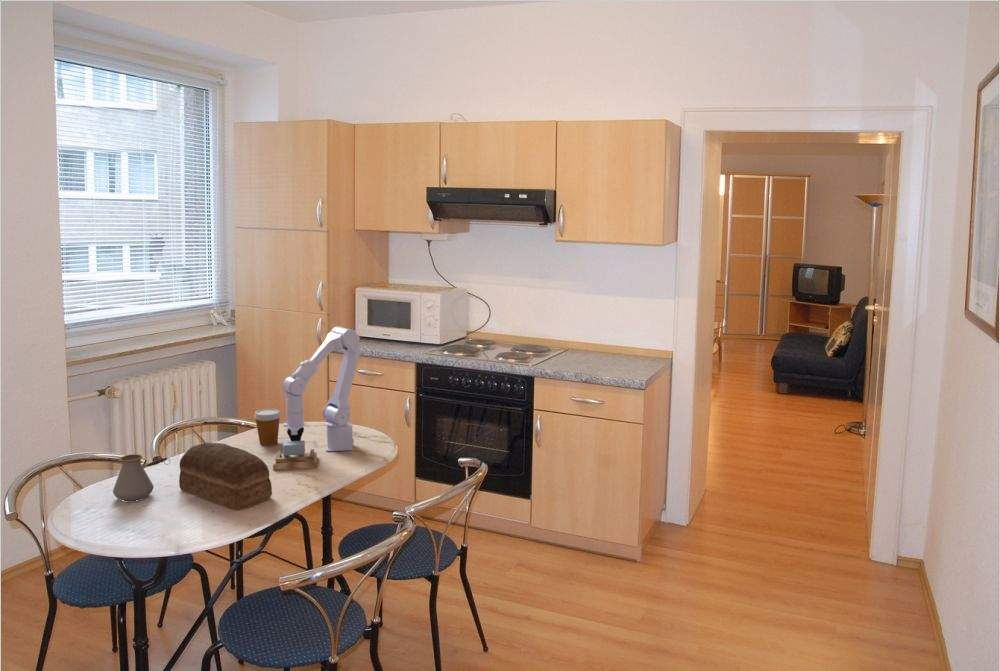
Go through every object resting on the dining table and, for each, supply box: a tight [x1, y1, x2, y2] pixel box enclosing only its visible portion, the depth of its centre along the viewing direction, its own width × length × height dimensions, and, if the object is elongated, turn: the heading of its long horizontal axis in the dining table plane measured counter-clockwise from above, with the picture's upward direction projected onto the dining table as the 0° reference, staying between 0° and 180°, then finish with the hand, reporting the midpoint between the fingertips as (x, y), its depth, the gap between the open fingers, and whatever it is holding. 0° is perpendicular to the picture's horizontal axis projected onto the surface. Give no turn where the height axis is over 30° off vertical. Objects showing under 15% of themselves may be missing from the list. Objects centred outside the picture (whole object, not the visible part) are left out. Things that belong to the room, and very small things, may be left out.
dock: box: [272, 448, 318, 471], centre depth 293 cm, size 14×11×4 cm
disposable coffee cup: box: [253, 408, 282, 447], centre depth 315 cm, size 10×10×12 cm
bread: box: [178, 442, 273, 511], centre depth 264 cm, size 15×32×16 cm, turn 54°
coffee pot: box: [112, 453, 171, 502], centre depth 259 cm, size 21×12×15 cm, turn 64°
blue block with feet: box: [282, 440, 306, 458], centre depth 293 cm, size 7×5×5 cm, turn 100°
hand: (296, 448), depth 300 cm, fingers closed
